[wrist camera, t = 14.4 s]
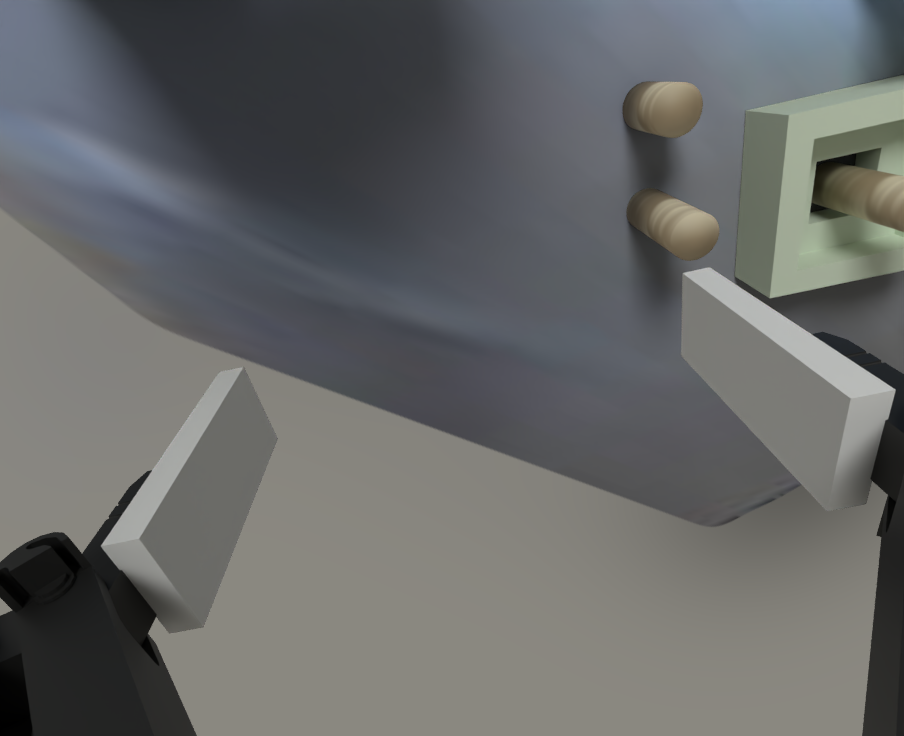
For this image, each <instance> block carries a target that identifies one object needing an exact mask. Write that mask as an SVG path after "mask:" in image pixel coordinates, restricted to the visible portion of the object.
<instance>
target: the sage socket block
mask: <svg viewBox="0 0 904 736" xmlns="http://www.w3.org/2000/svg"><path fill="white" fill-rule="evenodd" d="M854 153H857V154H856V160H855V166H856V167H861V168H866V169H871V170H876V171H881V172H886V173H890V174H895V175H900V176H904V75H900V76H895V77H891V78H887V79H882V80H878V81H874V82H869V83H865V84H860V85H856V86H852V87H847V88H843V89H839V90H834V91H830V92H825V93H821V94H817V95H812V96H808V97H804V98H799V99H795V100H790V101H786V102H782V103H777V104H773V105H769V106H764V107H760V108H756V109H751V110H747V111H746V116H745V131H744V146H743V160H742V175H741V190H740V205H739V220H738V234H737V249H736V264H735V277H737V278H738V279H740V280H741V281H743V282H745V283H746V284H748V285H749V286H751V287H752V288H754V289H756V290H757V291H759V292H760V293H762V294H764V295H765V296H767V297H768V298H774V297H779V296H784V295H789V294H793V293H798V292H803V291H808V290H813V289H817V288H822V287H827V286H832V285H836V284H841V283H846V282H851V281H856V280H860V279H865V278H870V277H875V276H880V275H884V274H889V273H894V272H899V271H903V270H904V232H901V231H898V230H895V229H892V228H889V227H886V226H883V225H880V224H876V223H873V222H870V221H867V220H864V219H861V218H858V217H855V216H851V215H848V214H845V213H842V212H839V211H836V210H833V209H825V210H821V211H816V212H812V213H810V208H811V201H812V193H813V186H814V179H815V171H816V164H817V162H818V161H822V160H827V159H831V158H836V157H840V156H845V155H849V154H854Z"/></svg>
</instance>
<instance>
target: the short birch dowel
mask: <svg viewBox="0 0 904 736" xmlns="http://www.w3.org/2000/svg"><path fill="white" fill-rule="evenodd" d="M702 106H703V102H702V96H701V94H700V92H699V90H698V89H697V88H696V87H695V86H694V85H692V84H690V83H687V82H642V83H640V84H638V85H636V86H634V87H633V88H632V89H631V90H630V91H629V93H628V94H627V96H626V98H625V100H624V103H623V117H624V120H625V122H626V123H627V125H628V126H629V127H631V128H633V129H635V130H639V131H643V132H647V133H651V134H656V135H660V136H664V137H668V138H676V137H680V136H682V135H684V134H686V133H688V132H689V131H690V130H691V129H692V128H693V127H694V126H695V125H696V123H697V122H698V120H699V118H700V115H701V112H702Z"/></svg>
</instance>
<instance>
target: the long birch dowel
mask: <svg viewBox="0 0 904 736" xmlns="http://www.w3.org/2000/svg"><path fill="white" fill-rule="evenodd" d="M811 203H814V204H817V205H820V206H823V207H826V208H829V209H833V210H836V211H839V212H842V213H845V214H848V215H851V216H855V217H858V218H861V219H864V220H867V221H870V222H873V223H876V224H880V225H883V226H886V227H889V228H892V229H895V230H898V231H901V232H904V176H900V175H895V174H890V173H886V172H881V171H876V170H871V169H866V168H861V167H856V166H851V165H846V164H841V163H836V162H825V163H823V164H820V165H819V166H817V167H816V171H815V179H814V186H813V193H812V201H811Z"/></svg>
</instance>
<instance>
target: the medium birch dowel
mask: <svg viewBox="0 0 904 736" xmlns="http://www.w3.org/2000/svg"><path fill="white" fill-rule="evenodd" d="M627 218H628V221H629V222H630V223H631V224H632V225H633V226H634V227H635V228H637V229H638V230H640V231H641V232H643V233H644V234H645V235H647V236H648V237H650V238H651V239H653V240H654V241H655V242H657V243H658V244H660V245H661V246H663V247H664V248H665V249H667V250H668V251H670V252H671V253H673V254H674V255H675V256H677V257H678V258H680V259H682V260H687V261H691V260H696V259H699V258H701V257H703V256H705V255H706V254H707V253H709V252H710V251H711V250H712V248H713V247H714V246H715V244H716V242H717V240H718V236H719V225H718V223H717V221H716V219H715V218H714V217H713V216H711V215H710V214H708V213H705V212H703V211H701V210H699V209H697V208H695V207H693V206H691V205H689V204H687V203H684V202H682V201H680V200H678V199H676V198H674V197H672V196H670V195H668V194H666V193H663V192H661V191H659V190H657V189H654V188H646V189H643V190H641V191H639V192H637V193H636V194H635V195H634V196H633V197H632V198H631V200H630V201H629V203H628V206H627Z"/></svg>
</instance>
